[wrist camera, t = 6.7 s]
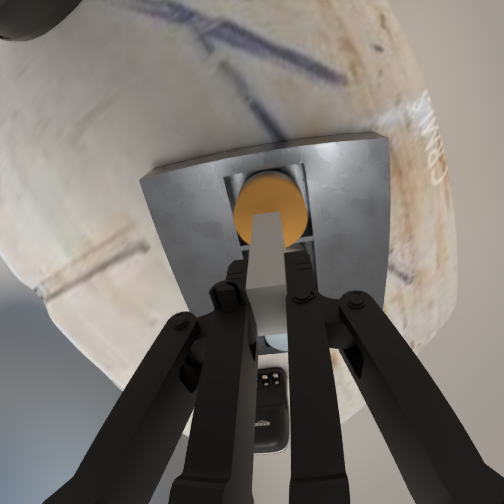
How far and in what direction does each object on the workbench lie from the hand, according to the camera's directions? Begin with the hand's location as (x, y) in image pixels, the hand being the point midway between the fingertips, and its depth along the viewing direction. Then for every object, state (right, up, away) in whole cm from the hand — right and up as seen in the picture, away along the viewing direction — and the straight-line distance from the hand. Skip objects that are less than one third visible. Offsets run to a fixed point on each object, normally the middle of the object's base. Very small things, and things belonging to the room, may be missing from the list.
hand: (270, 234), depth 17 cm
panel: (+2, -1, +9) cm, 9 cm away
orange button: (0, +2, +3) cm, 4 cm away
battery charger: (0, -17, +19) cm, 26 cm away
